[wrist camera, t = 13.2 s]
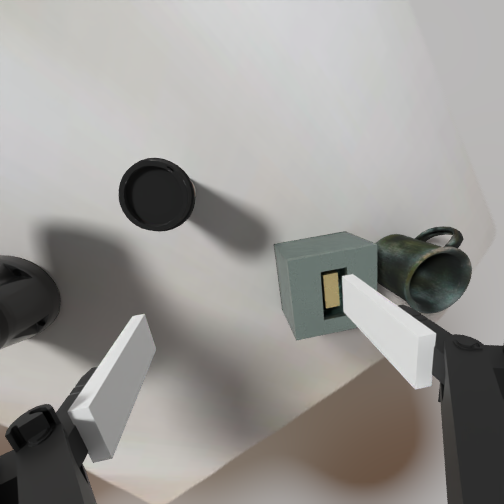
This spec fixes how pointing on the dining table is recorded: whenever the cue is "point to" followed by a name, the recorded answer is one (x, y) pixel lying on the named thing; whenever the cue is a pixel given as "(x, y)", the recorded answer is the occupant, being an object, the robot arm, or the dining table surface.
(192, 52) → the dining table surface
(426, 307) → the mug
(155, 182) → the coffee cup
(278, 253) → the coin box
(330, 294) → the tan rectangular block
